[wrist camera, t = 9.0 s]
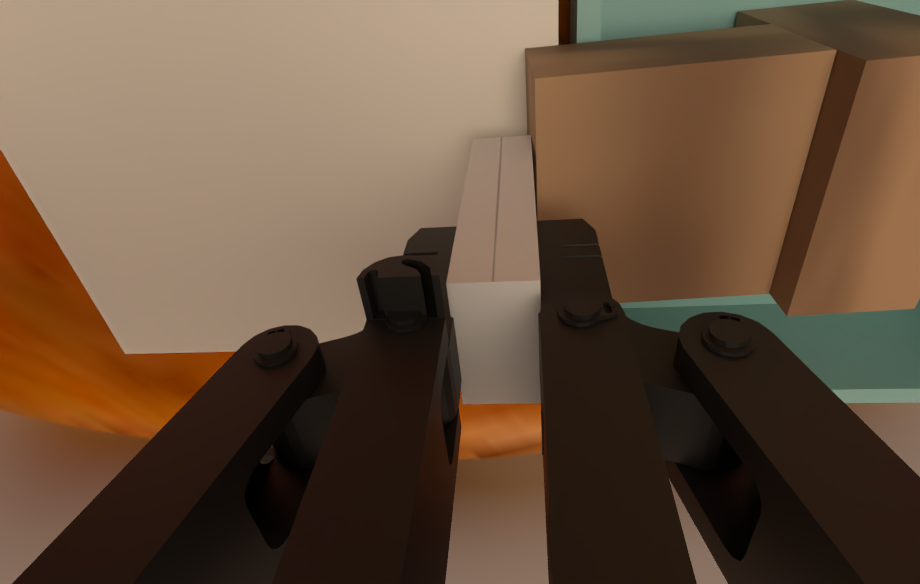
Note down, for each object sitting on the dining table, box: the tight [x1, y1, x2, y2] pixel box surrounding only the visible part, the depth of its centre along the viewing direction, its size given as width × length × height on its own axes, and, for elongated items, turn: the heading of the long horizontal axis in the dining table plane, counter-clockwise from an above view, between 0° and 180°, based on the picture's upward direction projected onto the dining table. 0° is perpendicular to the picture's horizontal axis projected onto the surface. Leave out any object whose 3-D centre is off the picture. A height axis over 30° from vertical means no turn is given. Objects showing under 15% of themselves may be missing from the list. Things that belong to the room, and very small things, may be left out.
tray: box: [569, 0, 920, 403], centre depth 15 cm, size 14×16×5 cm
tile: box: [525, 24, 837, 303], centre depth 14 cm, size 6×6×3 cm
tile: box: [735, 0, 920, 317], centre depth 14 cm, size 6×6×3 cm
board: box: [0, 0, 558, 354], centre depth 18 cm, size 17×14×3 cm
